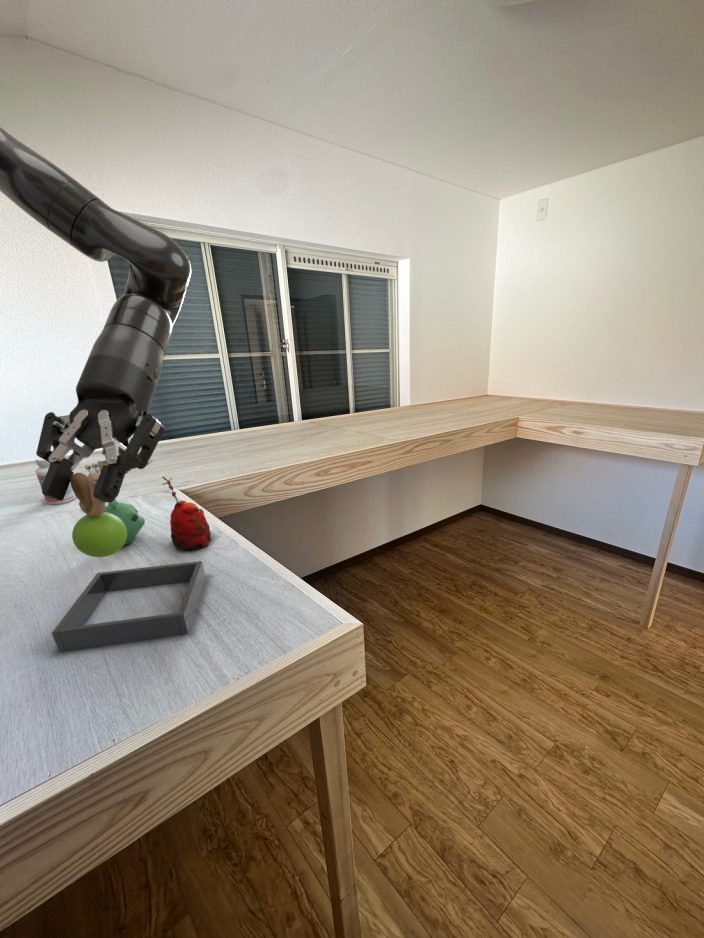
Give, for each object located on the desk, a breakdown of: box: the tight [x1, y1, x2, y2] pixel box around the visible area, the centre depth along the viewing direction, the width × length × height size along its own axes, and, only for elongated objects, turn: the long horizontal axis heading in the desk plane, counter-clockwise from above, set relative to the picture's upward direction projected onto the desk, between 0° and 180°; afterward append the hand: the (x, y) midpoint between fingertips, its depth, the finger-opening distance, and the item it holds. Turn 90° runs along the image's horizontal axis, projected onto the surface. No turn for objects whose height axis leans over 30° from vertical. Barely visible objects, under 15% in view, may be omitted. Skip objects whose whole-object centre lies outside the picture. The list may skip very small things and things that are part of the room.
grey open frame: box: [51, 560, 207, 654], centre depth 61 cm, size 16×15×4 cm
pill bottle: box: [34, 456, 77, 505], centre depth 102 cm, size 6×6×11 cm
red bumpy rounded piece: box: [161, 475, 212, 551], centre depth 79 cm, size 8×7×15 cm
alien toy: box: [104, 494, 146, 546], centre depth 81 cm, size 7×8×10 cm
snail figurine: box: [70, 462, 127, 558], centre depth 48 cm, size 5×6×12 cm
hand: (77, 498), depth 46 cm, fingers closed on snail figurine, 5 cm apart
